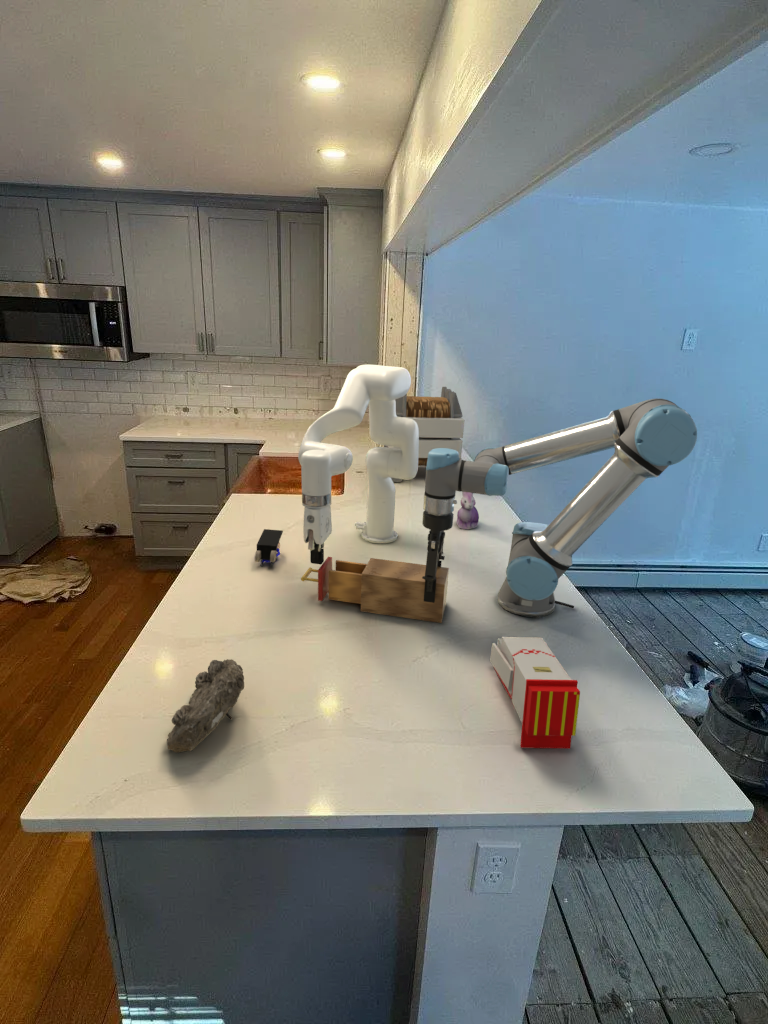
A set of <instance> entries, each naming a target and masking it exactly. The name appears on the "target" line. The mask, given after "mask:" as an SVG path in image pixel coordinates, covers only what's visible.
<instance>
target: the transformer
mask: <svg viewBox="0 0 768 1024" xmlns="http://www.w3.org/2000/svg"><path fill="white" fill-rule="evenodd" d="M440 393H441V394H440V396H415V395H414V396H413V395H412V396H411V395H407V394H408V393H407V394H406V395H404V396H403V397H401V398H398V399H395V401H396V416H397V417H403V418H410V419H413V420H414V421H415V422H416V423H417V425H418V429H419V455H418V467H427V459H428V453H429V452H430V451H431V450H432V449H436V448H448V449H453V450H456V451H457V452H458V453H459V459H460V460H463V459H462V453H463V442H464V441H463V440H462V439H463V438H464V431H465V430H464V429H465V419H464V418H463V411H462V408H461V405H460V402H459V398H458V395H457V392H455V391H453V390H452V389H451V388H447V386H442V387H441V392H440ZM383 447H386V448H394V449H400V450H401V448H400V447H393V446H385V445H383ZM391 479H392V481H393V483H402V482H403V479H398V478H391Z"/></svg>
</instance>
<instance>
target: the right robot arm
mask: <svg viewBox="0 0 768 1024" xmlns="http://www.w3.org/2000/svg"><path fill="white" fill-rule="evenodd" d="M697 439H698V429H697V425H696V423H695V421H694V419H693V417H692V415H691V414H689V412H687V411H686V410H685V409H683V408H682V407H680V406H679V405H677V404H676V403H675V402H673V401H671V400H669V399H665V398H658V397H657V398H650V399H646V400H642V401H640V402H636V403H633V404H630V405H627V406H624V407H621V408H618V409H614V410H612V411H610V412H609V414H608V415H607V416H606V417H602V418H598V419H595V420H591V421H588V422H584V423H581V424H577V425H574V426H570V427H567V428H562V429H560V430H555V431H553V432H549V433H546V434H541V435H537V436H535V437H531V438H527V439H524V440H520V441H517V442H513V443H509V444H506V445H503V446H499V447H485V448H483V449H482V450H481V451H480V452H478V453H477V454H476V456H475V458H474V460H473V461H472V460H464V459H462V460H460V459H459V453H458V452H457V451H456V450H453V449H448V448H436V449H432V450H431V451H430V452H429V453H428V459H427V466H425V480H424V481H425V484H424V494H423V505H422V509H423V512H422V526H423V527H424V528H425V529H428V530H429V532H428V534H427V547H426V550H427V553H426V561H425V565H426V571H425V576H423V577H422V579H425V589H424V601H425V602H432V603H434V602H435V591H436V579H437V578H436V572H437V566H438V567H442V562H443V561H445V558H446V557H445V555H443V554H444V543H445V537H446V532H445V531H449V530H450V529H452V528H453V525H454V516H455V515H454V511H455V505H457V504H458V500H457V499H456V492H461V493H462V492H469V493H473V494H477V495H484V496H489V497H492V496H493V497H503V496H505V495H506V493H507V489H508V483H509V476H511V475H514V474H518V473H522V472H526V471H529V470H533V469H537V468H541V467H545V466H549V465H553V464H556V463H561V462H565V461H569V460H572V459H576V458H580V457H584V456H588V455H592V454H595V453H599V452H603V451H607V450H612V449H614V452H613V454H612V455H611V456H610V457H609V459H608V460H607V461H606V462H605V463H604V464H603V465H602V466H601V467H600V468H599V469H598V471H596V473H595V474H594V475H593V476H592V478H590V479H589V481H588V482H587V483H585V485H584V486H583V487H582V488H581V489H580V490H579V492H577V494H575V496H574V497H573V498H572V499H570V501H569V502H568V503H567V504H566V506H565V507H564V508H563V509H562V510H561V511H560V512H559V513H558V514H557V515H556V516H555V518H554V519H553V520H552V521H550V523H549V524H546V523H540V522H533V521H521V522H517V523H516V524H515V525H514V526H513V530H512V531H511V534H512V536H511V544H510V551H509V557H508V562H507V565H506V569H505V573H506V574H505V575H506V576H505V579H504V580H503V582H502V584H501V586H500V588H499V591H498V594H497V603H498V605H499V606H500V607H501V608H503V610H505V611H507V612H509V613H511V614H514V615H517V616H521V617H527V618H542V617H546V616H549V615H551V614H552V613H554V611H555V608H556V605H560V606H563V607H566V608H570V609H574V608H575V605H572V604H569V603H566V602H561V601H559V600H558V601H557V600H556V598H555V594H554V593H555V591H556V589H557V587H558V584H559V579H560V578H561V577H562V576H563V575H564V574H566V572H567V571H568V570H569V569H570V568H571V566H573V555H574V554H575V553H576V552H577V551H578V550H579V549H580V548H581V547H582V546H583V545H584V543H585V542H587V541H588V539H589V538H590V537H592V535H593V534H594V533H595V532H596V531H597V530H598V529H599V528H601V526H602V525H603V524H604V523H605V522H606V521H607V519H609V517H611V515H613V514H614V512H615V511H616V510H618V509H619V507H620V506H621V505H622V504H623V503H624V502H625V501H626V500H627V499H628V498H629V497H630V496H631V495H632V494H633V493H634V492H635V491H636V490H637V489H638V488H639V487H640V486H641V485H642V483H644V481H646V479H652V478H658V477H660V476H661V474H663V472H664V471H666V469H668V467H669V466H673V465H676V464H678V463H680V462H683V460H685V459H686V458H687V457H688V456H689V455H690V454H691V453H692V452H693V450H694V448H695V447H696V444H697Z"/></svg>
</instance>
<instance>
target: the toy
mask: <svg viewBox="0 0 768 1024" xmlns="http://www.w3.org/2000/svg"><path fill="white" fill-rule="evenodd" d="M489 658H490V659H489V662H490V663H491V665H492V666H493V669H494V671H495V673H496V675H497V677H498V679H499V680H500V682H501V684H502V686H503V687H504V689H505V691H506V693H507V695H508V697H509V699H510V700H511V703H512V705H513V707H514V709H515V712H516V713H517V716H518V718H519V720H520V722H521V735H520V748H521V749H571V746H572V745H571V744H572V737H574V736H575V737H576V733H577V732H576V731H577V723H578V715H579V705H580V697H581V691H580V688H578V683H579V681H578V680H577V679H572V678H571V677H570V675H569V674H568V673H567V671H566V670H565V668H564V667H563V665H562V664H561V662H560V661H559V660H558V659H557V657H556V656H555V654H554V652H553V651H552V650H551V648H550V647H549V645H548V643H547V642H545V640H544V639H543V637H540V636H539V637H536V636H535V637H534V636H526V637H525V636H501V638H500V637H498V638H497V643H496V642H492V643H491V649H490V657H489Z"/></svg>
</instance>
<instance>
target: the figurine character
mask: <svg viewBox="0 0 768 1024" xmlns="http://www.w3.org/2000/svg"><path fill="white" fill-rule="evenodd" d="M283 533H284V531H283V530H279V529H269V528H268V529H266V528H264V529H263V530H262V533H261V534H260V536H259V539H258V541H257V543H256V550H255V554H254V562H255V563H260V567H263V566H264V564H265V563H269V567H270V568H272V567H273V564H274V563H275V562H277V560H278V559H277V558H278V557H279V556H281V552H280V549H281V543H280V540H281V538H282V535H283Z"/></svg>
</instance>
